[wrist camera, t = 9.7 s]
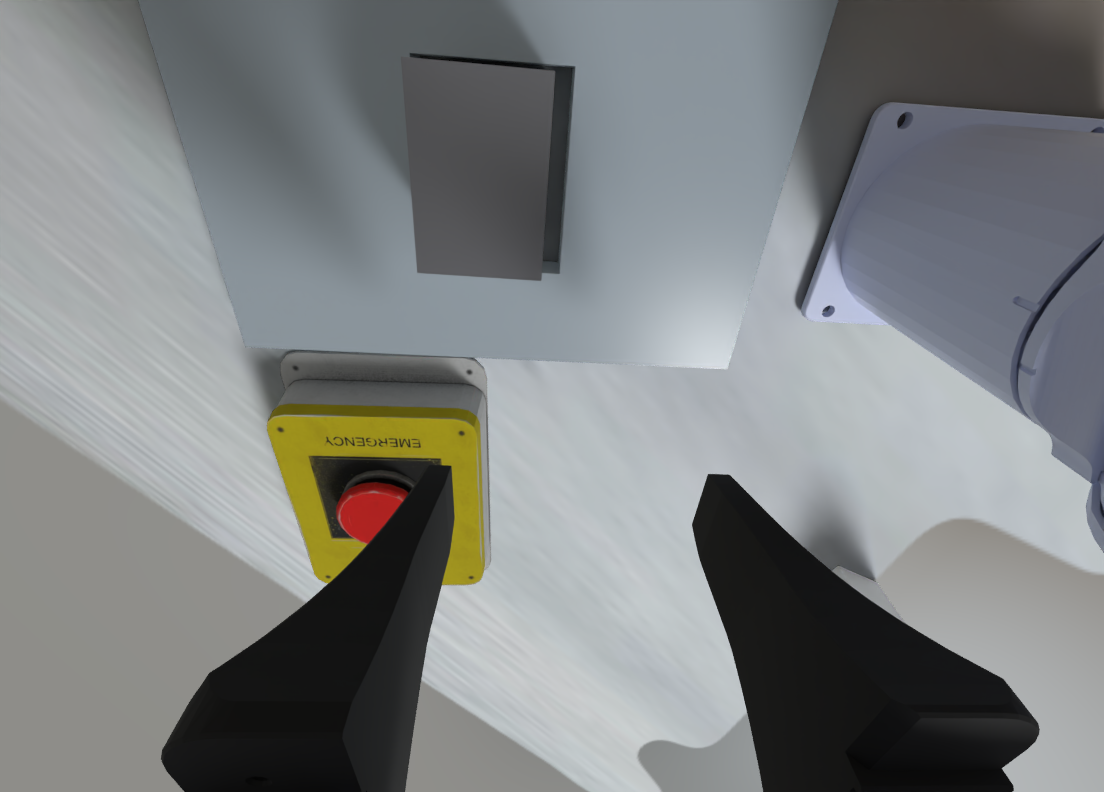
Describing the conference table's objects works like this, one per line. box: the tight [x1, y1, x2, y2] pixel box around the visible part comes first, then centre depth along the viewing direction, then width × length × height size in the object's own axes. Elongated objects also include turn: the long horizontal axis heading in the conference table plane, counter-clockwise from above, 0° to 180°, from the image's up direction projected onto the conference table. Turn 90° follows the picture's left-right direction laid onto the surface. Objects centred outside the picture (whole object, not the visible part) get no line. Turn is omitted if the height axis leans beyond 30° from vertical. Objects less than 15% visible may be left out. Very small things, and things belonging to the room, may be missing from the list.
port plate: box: [138, 0, 839, 369], centre depth 17 cm, size 20×14×2 cm
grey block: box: [401, 57, 555, 281], centre depth 15 cm, size 4×5×6 cm
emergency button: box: [267, 351, 491, 585], centre depth 24 cm, size 9×4×15 cm
